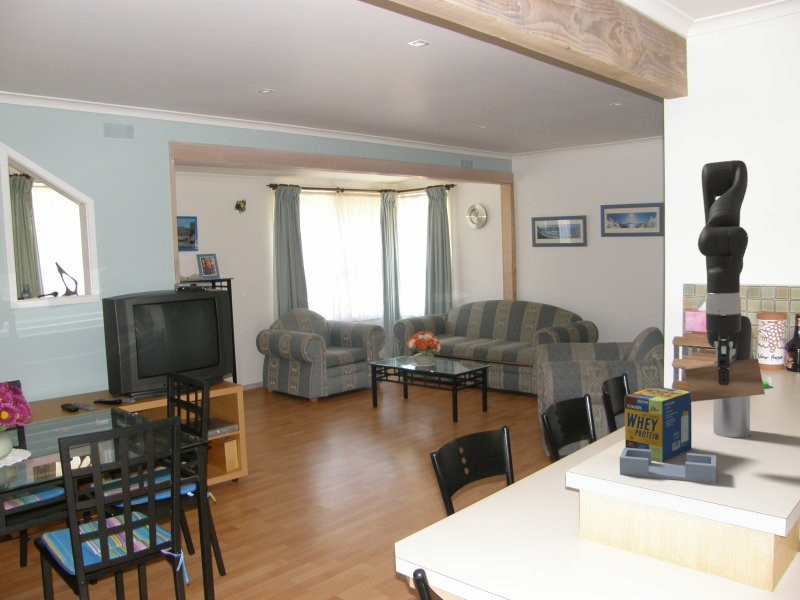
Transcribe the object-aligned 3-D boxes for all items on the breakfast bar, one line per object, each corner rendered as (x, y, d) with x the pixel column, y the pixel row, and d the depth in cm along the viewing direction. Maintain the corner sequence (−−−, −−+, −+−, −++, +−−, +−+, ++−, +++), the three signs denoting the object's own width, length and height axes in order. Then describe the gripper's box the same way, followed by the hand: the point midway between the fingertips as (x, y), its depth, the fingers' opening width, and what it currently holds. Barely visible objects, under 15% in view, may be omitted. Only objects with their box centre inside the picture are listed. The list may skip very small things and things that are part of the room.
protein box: (624, 454, 175) (623, 395, 174) (655, 441, 185) (655, 385, 184) (662, 463, 167) (661, 401, 166) (693, 449, 177) (692, 390, 176)
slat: (691, 399, 167) (685, 367, 167) (764, 391, 160) (757, 358, 160) (691, 401, 164) (684, 369, 164) (764, 394, 157) (758, 360, 157)
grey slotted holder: (624, 463, 168) (624, 447, 167) (716, 472, 159) (716, 455, 159) (619, 474, 160) (619, 457, 160) (715, 483, 151) (715, 466, 151)
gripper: (706, 308, 168) (707, 377, 170) (705, 314, 156) (706, 388, 157) (740, 308, 165) (740, 378, 167) (741, 314, 153) (742, 390, 154)
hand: (723, 382), depth 162 cm, fingers closed on slat, 3 cm apart
